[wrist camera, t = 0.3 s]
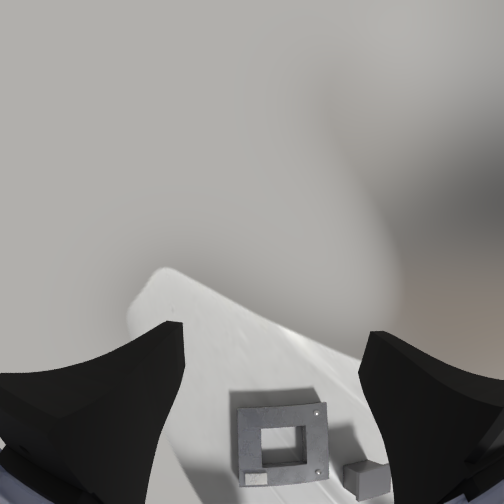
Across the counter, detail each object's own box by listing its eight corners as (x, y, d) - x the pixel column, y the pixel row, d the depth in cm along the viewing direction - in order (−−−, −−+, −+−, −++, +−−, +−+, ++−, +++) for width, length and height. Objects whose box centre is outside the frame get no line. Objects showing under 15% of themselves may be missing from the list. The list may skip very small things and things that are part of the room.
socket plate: (324, 474, 28) (329, 479, 25) (239, 482, 27) (239, 488, 25) (321, 402, 34) (327, 402, 32) (237, 407, 34) (237, 408, 31)
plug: (369, 482, 26) (390, 491, 21) (341, 489, 26) (358, 501, 20) (369, 457, 29) (391, 464, 23) (341, 464, 29) (359, 473, 23)
